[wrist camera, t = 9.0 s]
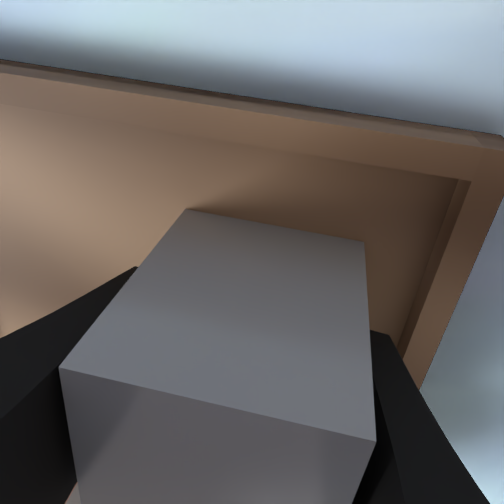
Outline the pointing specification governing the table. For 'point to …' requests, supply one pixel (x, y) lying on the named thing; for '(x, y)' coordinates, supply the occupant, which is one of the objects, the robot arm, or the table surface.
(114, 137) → the walnut tray
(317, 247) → the block
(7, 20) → the table surface
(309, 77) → the table surface
